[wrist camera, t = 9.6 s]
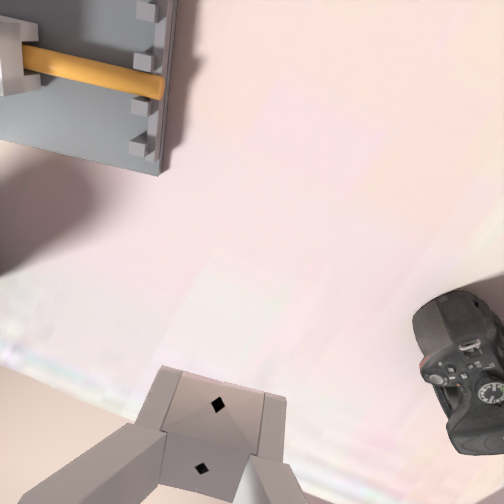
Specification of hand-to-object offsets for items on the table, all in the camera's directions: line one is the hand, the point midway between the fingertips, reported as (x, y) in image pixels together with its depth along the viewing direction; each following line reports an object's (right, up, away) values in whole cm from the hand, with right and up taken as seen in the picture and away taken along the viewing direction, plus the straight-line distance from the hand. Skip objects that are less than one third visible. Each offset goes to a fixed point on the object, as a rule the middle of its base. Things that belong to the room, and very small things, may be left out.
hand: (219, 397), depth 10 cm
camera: (+21, -5, +29) cm, 36 cm away
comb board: (-14, +18, +21) cm, 31 cm away
